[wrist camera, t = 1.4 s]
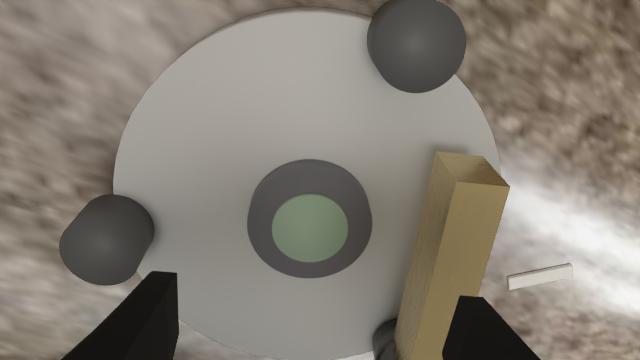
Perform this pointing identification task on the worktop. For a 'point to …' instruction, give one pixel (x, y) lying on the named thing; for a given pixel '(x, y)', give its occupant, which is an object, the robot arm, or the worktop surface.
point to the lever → (445, 255)
